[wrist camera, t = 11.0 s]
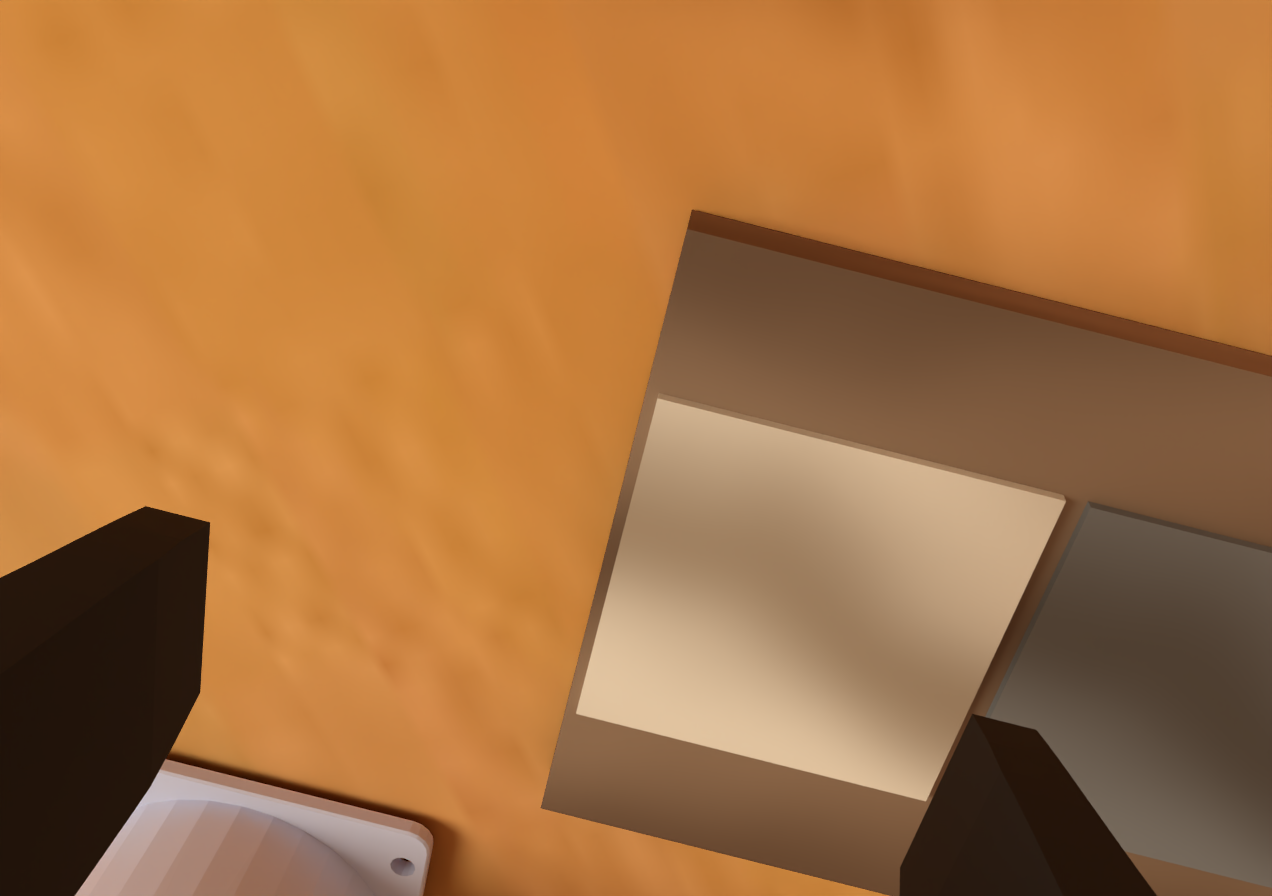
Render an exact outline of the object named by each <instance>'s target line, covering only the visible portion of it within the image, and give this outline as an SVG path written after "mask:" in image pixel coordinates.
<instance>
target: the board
mask: <svg viewBox="0 0 1272 896" xmlns="http://www.w3.org/2000/svg"><path fill="white" fill-rule="evenodd" d="M972 714H975V715H979V716H983V717H987V718H991V719H995V720H999V721H1003V722H1007V723H1011V724H1015V725H1019V726H1023V727H1027V728H1031V729H1035V730H1037V731H1038V732H1039V734H1040V735H1041V736H1042V737H1043V739H1044V740H1045V741H1046V743H1047V744H1048V745H1049V746H1050V748H1051V749H1052V750H1053V752H1054V753H1055V755H1056V756H1057V757H1058V759H1059V760H1060V761H1061V763H1062V764H1063V766H1064V767H1065V768H1066V770H1067V771H1068V772H1069V774H1070V775H1071V777H1072V778H1073V779H1074V781H1075V782H1076V784H1077V785H1078V787H1079V788H1080V789H1081V791H1082V792H1083V794H1084V795H1085V796H1086V798H1087V799H1088V801H1089V802H1090V803H1091V805H1092V806H1093V808H1094V809H1095V810H1096V812H1097V813H1098V815H1099V816H1100V817H1101V819H1102V820H1103V822H1104V823H1105V824H1106V826H1107V827H1108V829H1109V830H1110V831H1111V833H1112V834H1113V836H1114V837H1115V838H1116V840H1117V841H1118V843H1119V844H1120V846H1121V847H1122V848H1123V850H1124V851H1125V852H1126V854H1127V855H1128V857H1129V858H1130V859H1131V861H1132V862H1133V863H1134V865H1135V866H1136V868H1137V869H1138V870H1139V872H1140V873H1141V874H1142V876H1143V877H1144V879H1145V880H1146V881H1147V883H1148V884H1149V885H1150V887H1151V888H1152V889H1153V891H1154V892H1155V893H1156V895H1157V896H1272V356H1268V355H1264V354H1260V353H1256V352H1252V351H1249V350H1245V349H1241V348H1237V347H1233V346H1229V345H1225V344H1221V343H1217V342H1213V341H1209V340H1205V339H1201V338H1197V337H1193V336H1189V335H1185V334H1181V333H1177V332H1173V331H1169V330H1166V329H1162V328H1158V327H1154V326H1150V325H1146V324H1142V323H1138V322H1134V321H1130V320H1126V319H1122V318H1118V317H1114V316H1110V315H1106V314H1102V313H1098V312H1094V311H1090V310H1087V309H1083V308H1079V307H1075V306H1071V305H1067V304H1063V303H1059V302H1055V301H1051V300H1047V299H1043V298H1039V297H1035V296H1031V295H1027V294H1023V293H1019V292H1015V291H1011V290H1007V289H1004V288H1000V287H996V286H992V285H988V284H984V283H980V282H976V281H972V280H968V279H964V278H960V277H956V276H952V275H948V274H944V273H940V272H936V271H932V270H928V269H924V268H921V267H917V266H913V265H909V264H905V263H901V262H897V261H893V260H889V259H885V258H881V257H877V256H873V255H869V254H865V253H861V252H857V251H853V250H849V249H845V248H842V247H838V246H834V245H830V244H826V243H822V242H818V241H814V240H810V239H806V238H802V237H798V236H794V235H790V234H786V233H782V232H778V231H774V230H770V229H766V228H762V227H759V226H755V225H751V224H747V223H743V222H739V221H735V220H731V219H727V218H723V217H719V216H715V215H711V214H707V213H703V212H699V211H695V210H692V212H691V216H690V220H689V224H688V228H687V232H686V236H685V240H684V244H683V248H682V251H681V255H680V259H679V263H678V267H677V271H676V275H675V279H674V283H673V287H672V291H671V295H670V299H669V303H668V307H667V311H666V315H665V319H664V323H663V327H662V331H661V334H660V338H659V342H658V346H657V350H656V354H655V358H654V362H653V366H652V370H651V374H650V378H649V382H648V386H647V390H646V394H645V398H644V402H643V406H642V410H641V413H640V417H639V421H638V425H637V429H636V433H635V437H634V441H633V445H632V449H631V453H630V457H629V461H628V465H627V469H626V473H625V477H624V481H623V485H622V489H621V492H620V496H619V500H618V504H617V508H616V512H615V516H614V520H613V524H612V528H611V532H610V536H609V540H608V544H607V548H606V552H605V556H604V560H603V564H602V568H601V571H600V575H599V579H598V583H597V587H596V591H595V595H594V599H593V603H592V607H591V611H590V615H589V619H588V623H587V627H586V631H585V635H584V639H583V643H582V647H581V651H580V654H579V658H578V662H577V666H576V670H575V674H574V678H573V682H572V686H571V690H570V694H569V698H568V702H567V706H566V710H565V714H564V718H563V722H562V726H561V730H560V733H559V737H558V741H557V745H556V749H555V753H554V757H553V761H552V765H551V769H550V773H549V777H548V781H547V785H546V789H545V793H544V797H543V801H542V805H541V808H542V809H546V810H550V811H554V812H558V813H562V814H566V815H570V816H574V817H578V818H582V819H586V820H590V821H594V822H598V823H602V824H606V825H610V826H614V827H618V828H622V829H626V830H630V831H634V832H638V833H642V834H646V835H650V836H654V837H658V838H662V839H666V840H670V841H674V842H678V843H682V844H686V845H690V846H694V847H698V848H702V849H706V850H710V851H714V852H718V853H722V854H726V855H730V856H734V857H738V858H742V859H746V860H750V861H754V862H758V863H762V864H766V865H770V866H774V867H778V868H782V869H786V870H790V871H794V872H798V873H802V874H806V875H810V876H814V877H818V878H822V879H826V880H830V881H834V882H838V883H842V884H846V885H850V886H854V887H858V888H862V889H866V890H870V891H874V892H878V893H882V894H886V895H890V896H899V895H900V866H901V864H902V862H903V860H904V858H905V856H906V854H907V851H908V849H909V847H910V845H911V843H912V841H913V839H914V837H915V834H916V832H917V830H918V828H919V826H920V824H921V822H922V819H923V817H924V815H925V813H926V811H927V809H928V807H929V805H930V802H931V800H932V798H933V796H934V794H935V792H936V790H937V788H938V785H939V783H940V781H941V779H942V777H943V775H944V773H945V770H946V768H947V766H948V764H949V762H950V760H951V758H952V756H953V753H954V751H955V749H956V747H957V745H958V743H959V741H960V739H961V736H962V734H963V732H964V730H965V728H966V726H967V724H968V722H969V719H970V717H971V715H972Z"/></svg>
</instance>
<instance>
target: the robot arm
mask: <svg viewBox="0 0 1272 896" xmlns="http://www.w3.org/2000/svg"><path fill="white" fill-rule="evenodd" d="M209 532H210V522H206V521H202V520H198V519H194V518H190V517H186V516H182V515H178V514H174V513H170V512H166V511H162V510H158V509H154V508H150V507H146V506H145V507H143V508H141V509H139V510H137V511H134V512H132V513H130V514H128V515H126V516H124V517H122V518H119V519H117V520H115V521H113V522H111V523H109V524H107V525H105V526H103V527H101V528H99V529H97V530H95V531H93V532H91V533H89V534H87V535H85V536H83V537H81V538H79V539H77V540H75V541H73V542H71V543H69V544H67V545H66V546H64V547H62V548H60V549H58V550H56V551H54V552H52V553H50V554H48V555H46V556H44V557H42V558H40V559H38V560H36V561H34V562H32V563H30V564H28V565H26V566H24V567H22V568H20V569H18V570H16V571H13V572H11V573H9V574H7V575H5V576H3V577H1V578H0V896H423V894H424V889H425V884H426V879H427V874H428V869H429V864H430V859H431V854H432V848H433V836H432V834H431V833H430V831H429V830H428V829H427V828H426V827H424V826H423V825H422V824H420V823H417V822H415V821H411V820H407V819H403V818H399V817H395V816H391V815H387V814H383V813H379V812H375V811H371V810H367V809H363V808H359V807H355V806H351V805H347V804H343V803H339V802H335V801H331V800H327V799H323V798H319V797H315V796H311V795H307V794H303V793H299V792H295V791H291V790H287V789H283V788H279V787H275V786H271V785H267V784H263V783H259V782H255V781H251V780H247V779H243V778H239V777H235V776H231V775H227V774H223V773H219V772H215V771H211V770H207V769H203V768H199V767H195V766H191V765H187V764H183V763H179V762H175V761H171V760H167V759H166V757H167V756H168V754H169V752H170V750H171V748H172V746H173V744H174V743H175V741H176V739H177V737H178V735H179V733H180V731H181V729H182V727H183V725H184V723H185V721H186V719H187V717H188V715H189V713H190V711H191V709H192V707H193V705H194V703H195V701H196V699H197V698H198V696H199V694H200V685H201V668H202V651H203V634H204V617H205V600H206V583H207V566H208V549H209ZM400 858H405V859H407V860H409V861H411V862H409V861H405V860H402V859H400ZM899 896H1157V895H1156V893H1155V892H1154V891H1153V889H1152V888H1151V887H1150V885H1149V884H1148V883H1147V881H1146V880H1145V879H1144V877H1143V876H1142V874H1141V873H1140V872H1139V870H1138V869H1137V868H1136V866H1135V865H1134V863H1133V862H1132V861H1131V859H1130V858H1129V857H1128V855H1127V854H1126V852H1125V851H1124V850H1123V848H1122V847H1121V846H1120V844H1119V843H1118V841H1117V840H1116V838H1115V837H1114V836H1113V834H1112V833H1111V831H1110V830H1109V829H1108V827H1107V826H1106V824H1105V823H1104V822H1103V820H1102V819H1101V817H1100V816H1099V815H1098V813H1097V812H1096V810H1095V809H1094V808H1093V806H1092V805H1091V803H1090V802H1089V801H1088V799H1087V798H1086V796H1085V795H1084V794H1083V792H1082V791H1081V789H1080V788H1079V787H1078V785H1077V784H1076V782H1075V781H1074V779H1073V778H1072V777H1071V775H1070V774H1069V772H1068V771H1067V770H1066V768H1065V767H1064V766H1063V764H1062V763H1061V761H1060V760H1059V759H1058V757H1057V756H1056V755H1055V753H1054V752H1053V750H1052V749H1051V748H1050V746H1049V745H1048V744H1047V743H1046V741H1045V740H1044V739H1043V737H1042V736H1041V735H1040V734H1039V732H1038V731H1037V730H1035V729H1031V728H1027V727H1023V726H1019V725H1015V724H1011V723H1007V722H1003V721H999V720H995V719H991V718H987V717H983V716H979V715H975V714H972V715H971V717H970V719H969V722H968V724H967V726H966V728H965V730H964V732H963V734H962V736H961V739H960V741H959V743H958V745H957V747H956V749H955V751H954V753H953V756H952V758H951V760H950V762H949V764H948V766H947V768H946V770H945V773H944V775H943V777H942V779H941V781H940V783H939V785H938V788H937V790H936V792H935V794H934V796H933V798H932V800H931V802H930V805H929V807H928V809H927V811H926V813H925V815H924V817H923V819H922V822H921V824H920V826H919V828H918V830H917V832H916V834H915V837H914V839H913V841H912V843H911V845H910V847H909V849H908V851H907V854H906V856H905V858H904V860H903V862H902V864H901V866H900V895H899Z"/></svg>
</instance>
